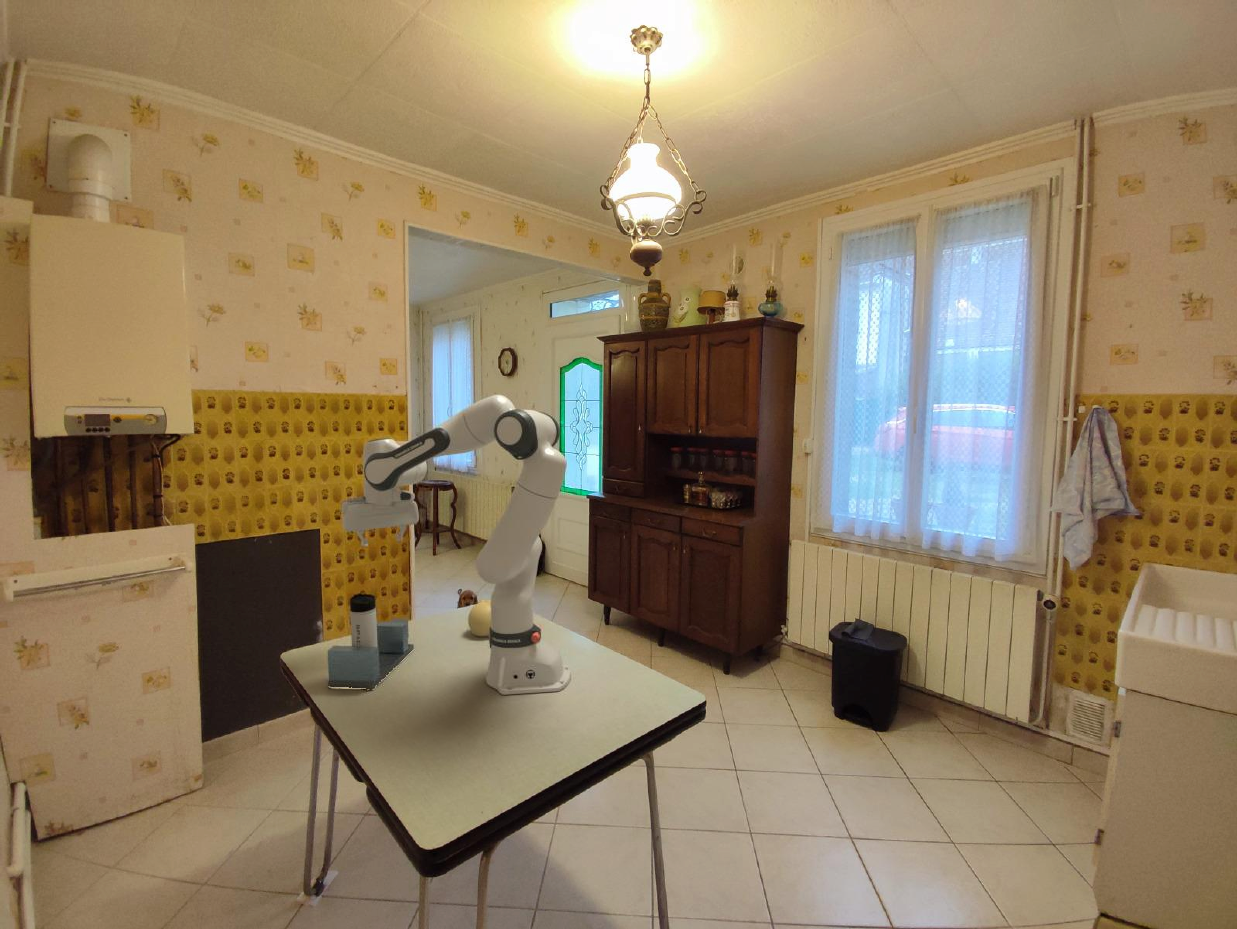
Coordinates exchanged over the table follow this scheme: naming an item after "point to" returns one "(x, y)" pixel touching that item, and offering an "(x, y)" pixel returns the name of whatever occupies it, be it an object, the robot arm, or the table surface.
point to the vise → (361, 665)
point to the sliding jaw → (393, 636)
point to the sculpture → (480, 618)
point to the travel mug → (363, 620)
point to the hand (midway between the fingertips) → (382, 543)
